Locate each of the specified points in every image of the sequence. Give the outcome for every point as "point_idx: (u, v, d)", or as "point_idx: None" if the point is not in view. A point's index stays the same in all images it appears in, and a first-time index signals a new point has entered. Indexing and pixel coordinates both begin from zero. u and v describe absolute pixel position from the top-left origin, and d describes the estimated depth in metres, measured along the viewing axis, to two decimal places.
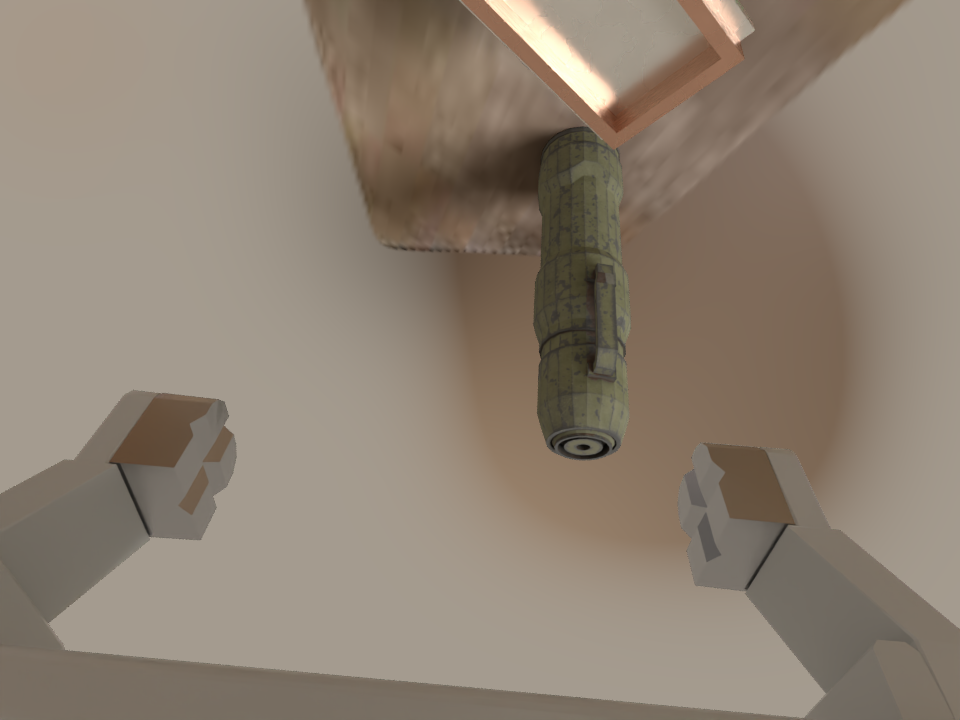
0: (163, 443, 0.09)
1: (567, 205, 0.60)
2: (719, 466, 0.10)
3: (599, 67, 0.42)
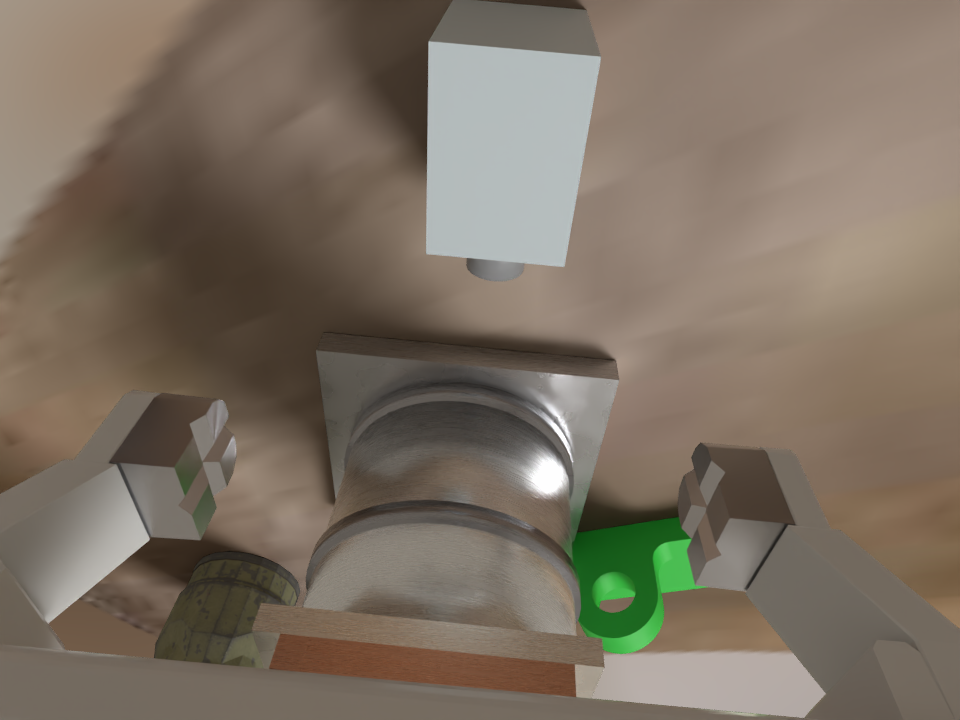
0: (163, 443, 0.09)
1: None
2: (719, 466, 0.10)
3: None
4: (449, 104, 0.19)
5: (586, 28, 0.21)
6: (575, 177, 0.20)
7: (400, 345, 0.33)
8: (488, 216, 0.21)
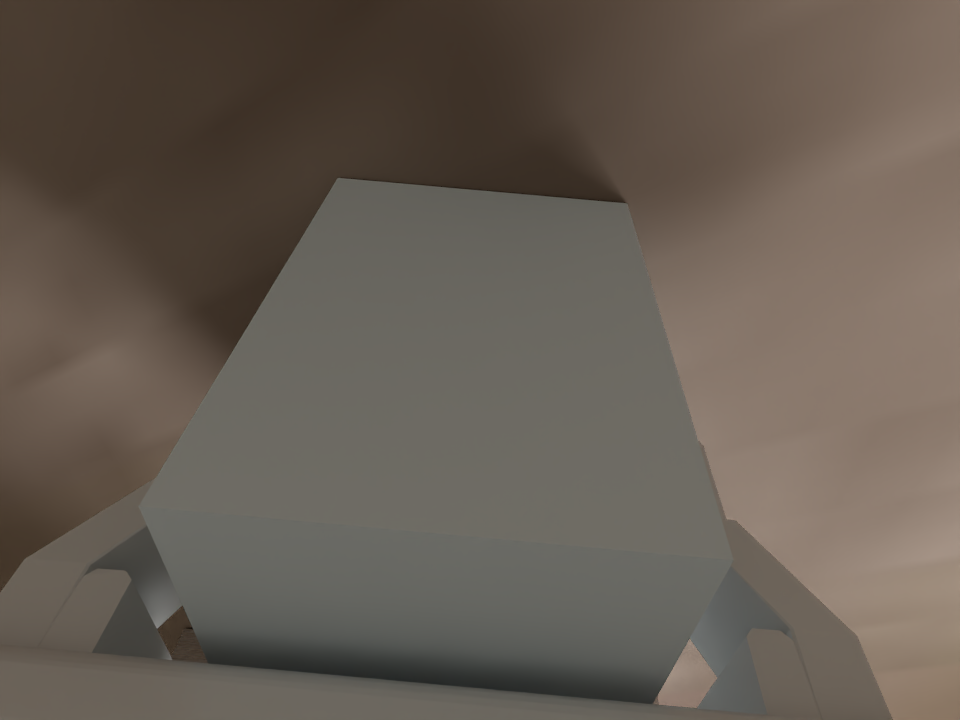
0: None
1: None
2: None
3: None
4: (250, 618, 0.06)
5: (644, 312, 0.08)
6: None
7: None
8: None
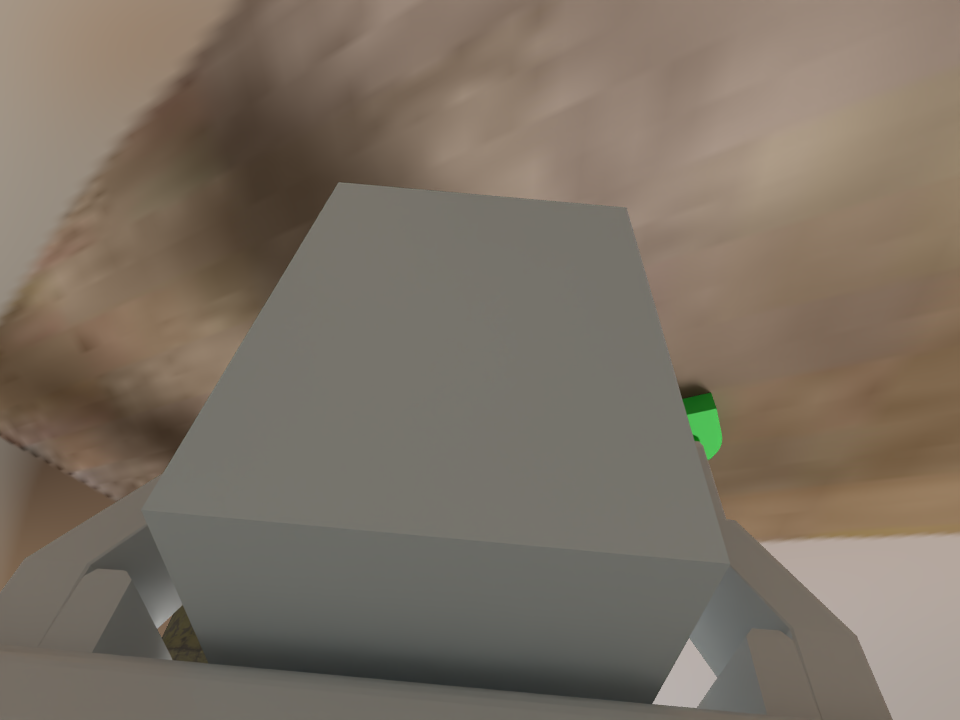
0: None
1: None
2: None
3: None
4: (251, 621, 0.06)
5: (643, 316, 0.08)
6: None
7: None
8: None
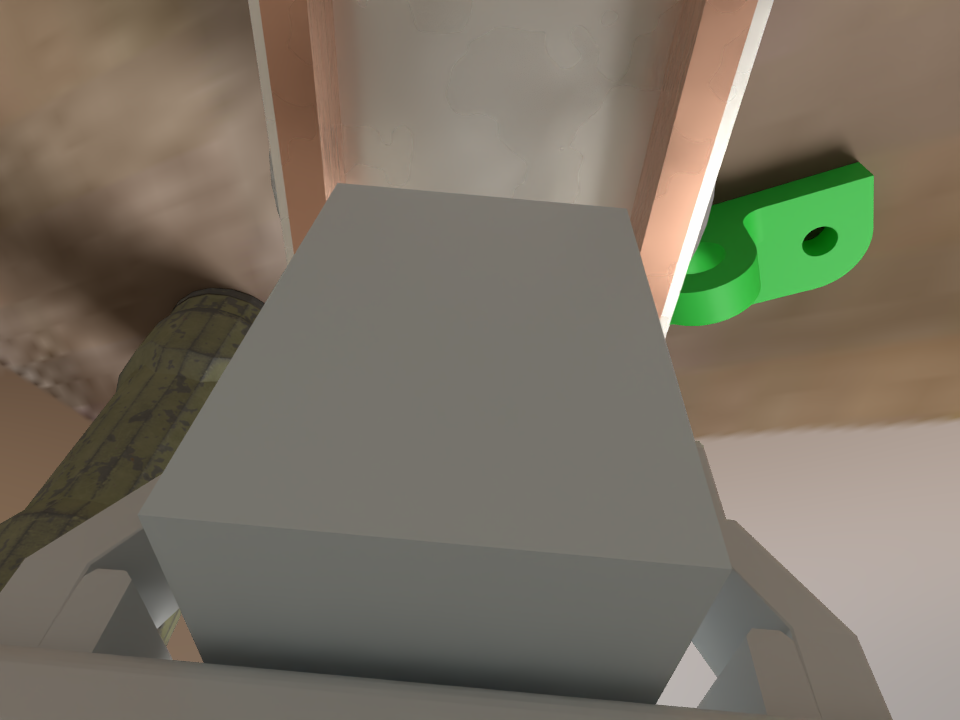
0: None
1: (168, 417, 0.32)
2: None
3: None
4: (249, 625, 0.06)
5: (643, 318, 0.08)
6: None
7: None
8: None
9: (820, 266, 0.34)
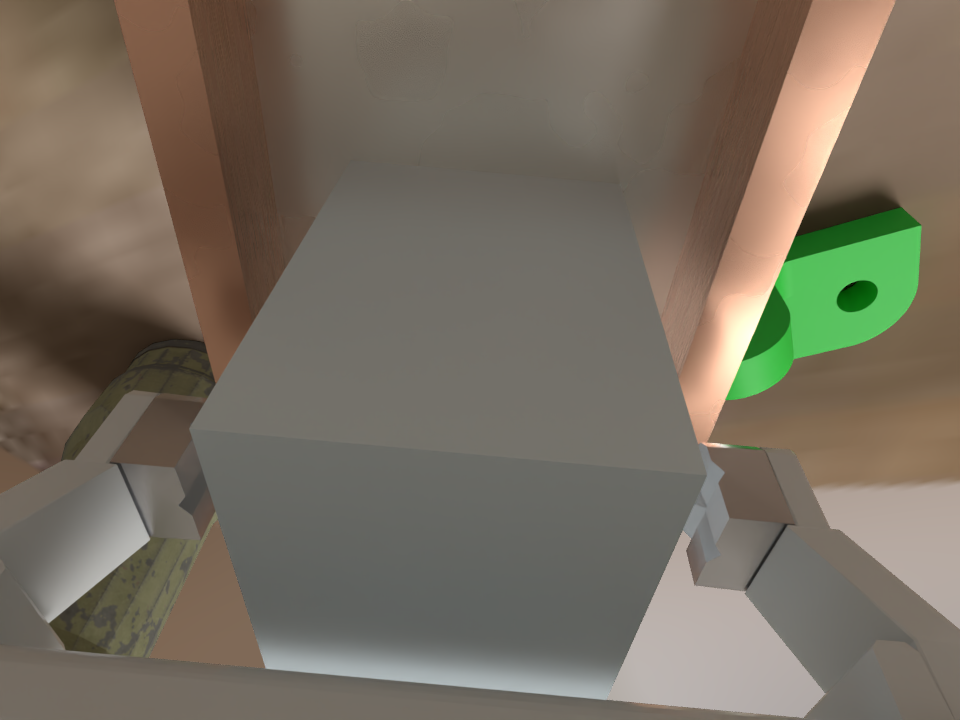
0: (163, 443, 0.09)
1: None
2: (718, 466, 0.10)
3: None
4: (280, 541, 0.07)
5: (634, 276, 0.09)
6: (615, 656, 0.08)
7: None
8: None
9: (856, 322, 0.30)
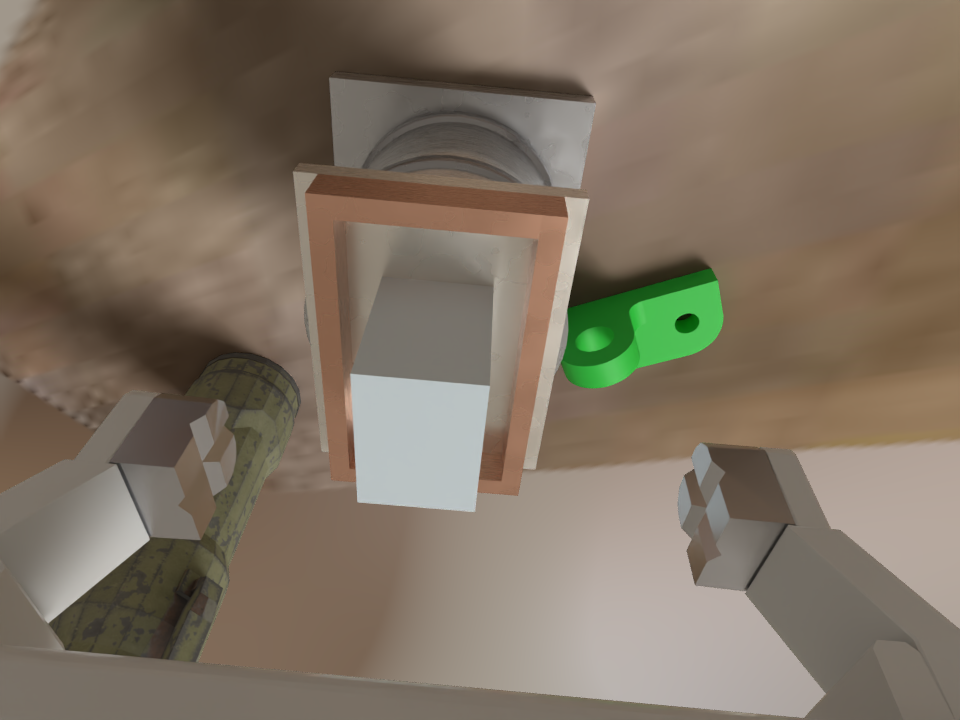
0: (163, 443, 0.09)
1: None
2: (719, 466, 0.10)
3: None
4: (369, 411, 0.23)
5: (487, 328, 0.25)
6: (477, 456, 0.24)
7: (403, 80, 0.38)
8: (408, 479, 0.25)
9: (689, 340, 0.47)
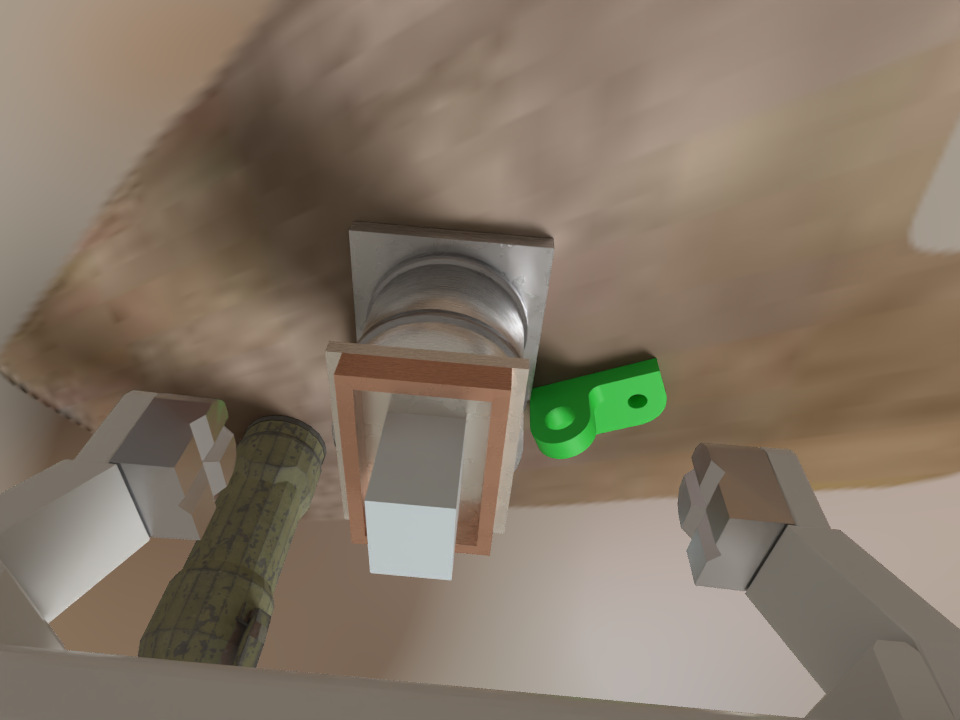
0: (163, 443, 0.09)
1: (258, 508, 0.55)
2: (719, 466, 0.10)
3: None
4: (377, 521, 0.35)
5: (458, 458, 0.36)
6: (451, 548, 0.36)
7: (405, 228, 0.49)
8: (404, 560, 0.37)
9: (640, 413, 0.58)
